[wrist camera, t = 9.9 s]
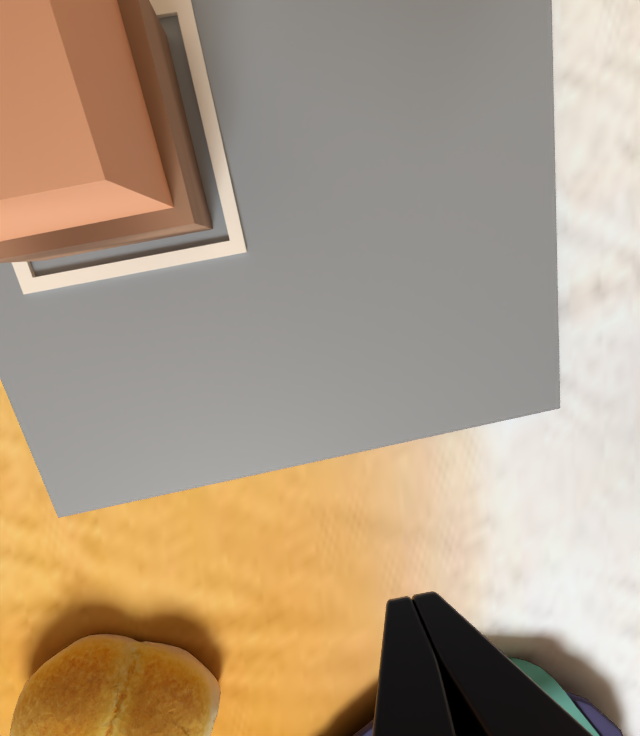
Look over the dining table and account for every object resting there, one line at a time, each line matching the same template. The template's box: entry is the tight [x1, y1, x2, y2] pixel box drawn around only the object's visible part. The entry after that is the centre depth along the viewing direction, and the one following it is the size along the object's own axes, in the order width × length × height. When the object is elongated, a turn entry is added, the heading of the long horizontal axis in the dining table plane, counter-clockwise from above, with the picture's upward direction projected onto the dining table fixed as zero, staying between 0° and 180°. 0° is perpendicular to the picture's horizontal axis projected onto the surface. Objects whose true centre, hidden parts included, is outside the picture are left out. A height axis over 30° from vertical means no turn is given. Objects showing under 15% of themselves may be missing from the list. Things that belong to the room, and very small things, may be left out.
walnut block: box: [0, 0, 213, 263], centre depth 13 cm, size 6×6×4 cm
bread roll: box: [10, 634, 221, 736], centre depth 20 cm, size 8×9×4 cm
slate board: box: [0, 0, 560, 518], centre depth 16 cm, size 22×18×1 cm
